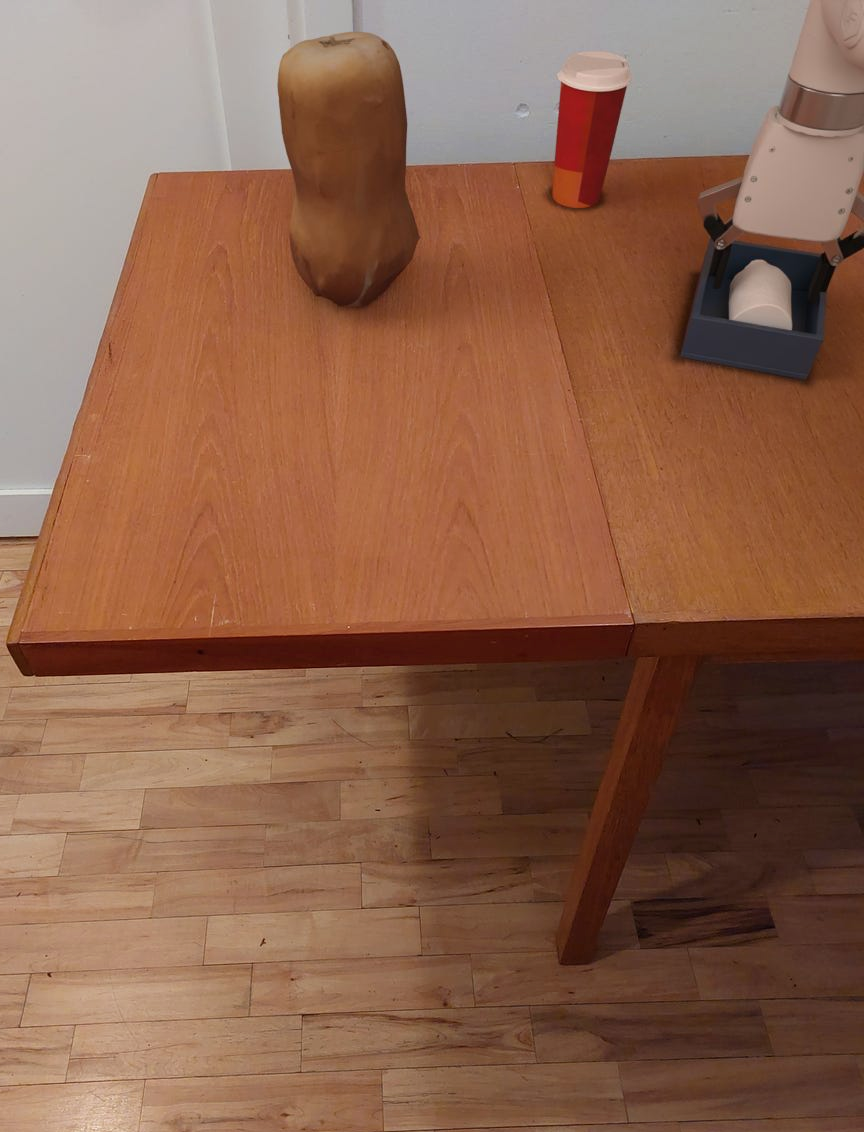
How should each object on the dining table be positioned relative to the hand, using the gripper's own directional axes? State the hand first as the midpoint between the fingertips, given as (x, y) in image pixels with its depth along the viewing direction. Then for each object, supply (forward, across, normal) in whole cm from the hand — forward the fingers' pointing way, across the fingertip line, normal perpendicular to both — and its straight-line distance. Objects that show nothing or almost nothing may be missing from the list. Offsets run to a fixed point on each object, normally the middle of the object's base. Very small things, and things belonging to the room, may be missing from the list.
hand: (763, 289), depth 90 cm
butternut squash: (+4, +42, +7) cm, 43 cm away
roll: (+4, 0, -1) cm, 4 cm away
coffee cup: (+4, +23, -23) cm, 33 cm away
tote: (+4, 0, -1) cm, 5 cm away
